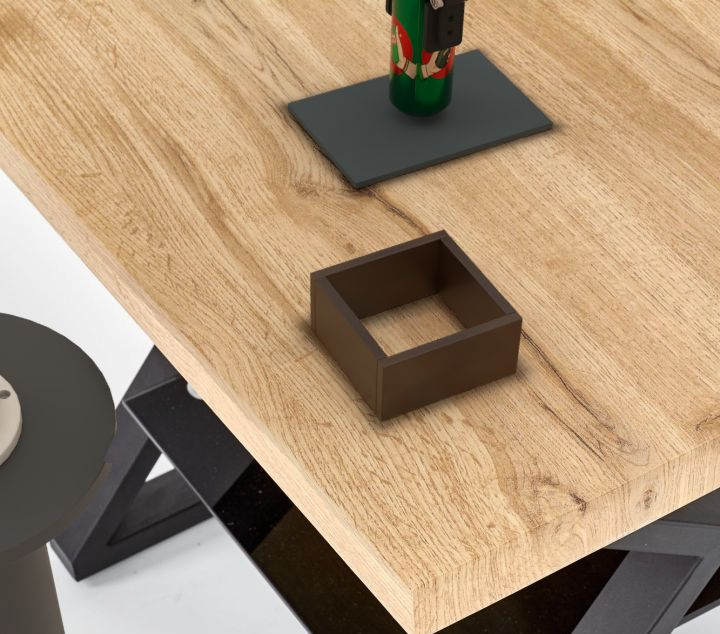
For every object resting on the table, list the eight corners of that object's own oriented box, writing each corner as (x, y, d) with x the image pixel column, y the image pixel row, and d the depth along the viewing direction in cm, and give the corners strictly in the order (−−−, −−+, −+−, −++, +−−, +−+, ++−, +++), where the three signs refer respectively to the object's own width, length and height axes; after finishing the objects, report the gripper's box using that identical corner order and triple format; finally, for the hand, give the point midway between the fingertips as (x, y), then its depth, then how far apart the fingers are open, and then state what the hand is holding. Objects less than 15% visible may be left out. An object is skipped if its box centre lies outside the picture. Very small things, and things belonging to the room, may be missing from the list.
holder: (381, 422, 105) (383, 367, 101) (310, 327, 111) (309, 272, 108) (516, 373, 109) (523, 317, 105) (440, 283, 115) (444, 228, 111)
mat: (355, 189, 122) (355, 183, 121) (287, 109, 129) (287, 103, 128) (552, 128, 127) (553, 122, 127) (477, 54, 134) (477, 48, 134)
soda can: (456, 89, 128) (466, -49, 119) (444, 125, 125) (454, -15, 116) (395, 81, 129) (401, -57, 120) (382, 115, 126) (387, -24, 117)
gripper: (330, -248, 112) (329, -12, 126) (450, -146, 102) (435, 98, 116) (422, -267, 114) (412, -34, 128) (548, -169, 104) (522, 72, 118)
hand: (423, 26), depth 122 cm, fingers closed on soda can, 5 cm apart
